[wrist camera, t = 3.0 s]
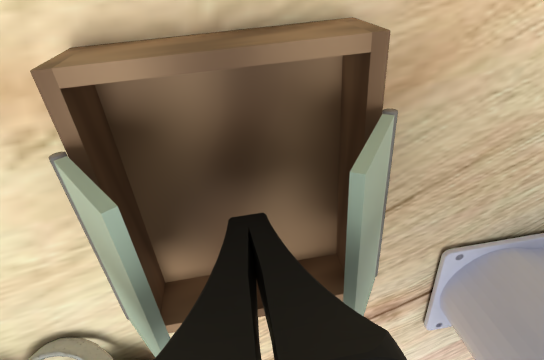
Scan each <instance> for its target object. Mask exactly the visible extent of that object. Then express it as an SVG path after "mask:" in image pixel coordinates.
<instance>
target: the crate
mask: <svg viewBox="0 0 544 360" xmlns="http://www.w3.org/2000/svg"><path fill="white" fill-rule="evenodd" d="M389 39H390V30H387V29H385V28H382V27H379V26H376V25H373V24H370V23H367V22H364V21H362V20H359V19H356V18H345V19H336V20H327V21H317V22H308V23H299V24H289V25H280V26H271V27H262V28H252V29H243V30H234V31H224V32H215V33H206V34H196V35H187V36H178V37H169V38H159V39H150V40H141V41H131V42H122V43H113V44H103V45H94V46H85V47H76V48H70V49H68V50H66V51H64V52H63V53H61V54H59V55H57V56H55V57H54V58H52V59H50V60H48V61H47V62H45V63H43V64H41V65H39V66H38V67H36V68H34V69H32V70H31V71H30V72H31V74H32V76H33V79H34V81H35V83H36V85H37V88H38V90H39V92H40V94H41V96H42V99H43V101H44V103H45V105H46V108H47V110H48V112H49V114H50V116H51V119H52V121H53V123H54V125H55V128H56V130H57V132H58V134H59V136H60V139H61V141H62V143H63V145H64V148H65V150H66V152H67V154H68V156H69V159H71V160H72V161H73V162H74V163H75V164H76V165H77V166H78V167H79V168H80V169H81V170H82V171H83V172H84V173H85V174H86V175H87V176H88V177H89V178H90V179H91V180H92V181H93V182H94V183H95V184H96V185H97V186H98V187H99V188H100V189H101V190H102V191H103V192H104V193H105V194H106V195H107V196H108V197H109V198H110V199H111V200H112V201H113V202H114V203H115V204H116V205H117V206H118V208H119V211H120V213H121V216H122V218H123V221H124V223H125V226H126V228H127V231H128V233H129V236H130V238H131V241H132V243H133V246H134V248H135V251H136V253H137V256H138V258H139V261H140V264H141V266H142V269H143V271H144V274H145V276H146V279H147V281H148V284H149V286H150V289H151V291H152V294H153V296H154V299H155V301H156V304H157V306H158V309H159V311H160V314H161V316H162V319H163V321H164V324H165V326H166V329H167V331H168V333H172V332H176V331H177V329H178V328H179V327H180V325H181V324H182V323H183V321H184V320H185V318H186V317H187V315H188V314H189V312H190V310H191V309H192V307H193V306H194V304H195V302H196V301H197V299H198V297H199V296H200V294H201V292H202V290H203V288H204V287H205V285H206V283H207V281H208V279H209V277H210V274H211V272H212V270H213V268H214V265H215V263H216V261H217V258H218V256H219V253H220V250H221V247H222V244H223V241H224V238H225V234H226V230H227V226H228V220H229V219H230V218H231V217H237V216H244V215H250V214H257V213H265V214H266V215H267V218H268V220H269V222H270V224H271V225H272V227H273V229H274V230H275V232H276V233H277V235H278V236H279V238H280V239H281V241H282V242H283V243H284V245H285V246H286V247H287V248H288V250H289V251H290V252H291V253H292V255H293V256H294V257H295V258H296V259H297V260H298V262H299V263H300V264H301V265H302V266H303V267H304V268H305V269H306V270H307V271H308V272H309V273H310V274H311V275H312V276H313V277H314V278H315V279H316V280H317V281H318V282H319V283H320V284H322V285H323V286H324V287H325V288H326V289H327V290H328V291H330V292H331V293H332V294H334V295H335V296H336V297H337V298H339V299H340V300H341V301H342V302H343V293H344V274H345V255H346V236H347V216H348V197H349V178H350V171H351V169H352V167H353V165H354V164H355V162H356V160H357V158H358V156H359V155H360V153H361V151H362V149H363V148H364V146H365V144H366V142H367V140H368V139H369V137H370V135H371V133H372V132H373V130H374V128H375V126H376V124H377V123H378V121H379V119H380V117H381V116H382V109H383V99H384V89H385V79H386V69H387V59H388V49H389ZM256 281H257V280H256ZM257 305H258V317H261V316H265V312H264V308H263V304H262V300H261V296H260V292H259V288H258V284H257Z"/></svg>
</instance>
